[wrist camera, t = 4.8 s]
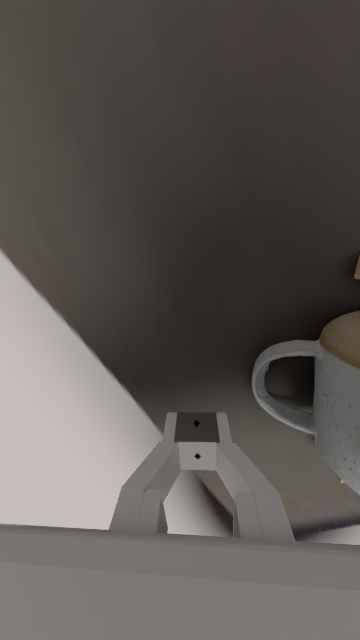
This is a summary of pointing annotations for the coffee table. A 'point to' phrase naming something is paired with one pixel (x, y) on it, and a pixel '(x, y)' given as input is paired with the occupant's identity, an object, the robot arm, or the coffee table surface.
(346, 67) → the coffee table surface
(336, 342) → the ceramic mug
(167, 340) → the coffee table surface
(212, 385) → the coffee table surface
